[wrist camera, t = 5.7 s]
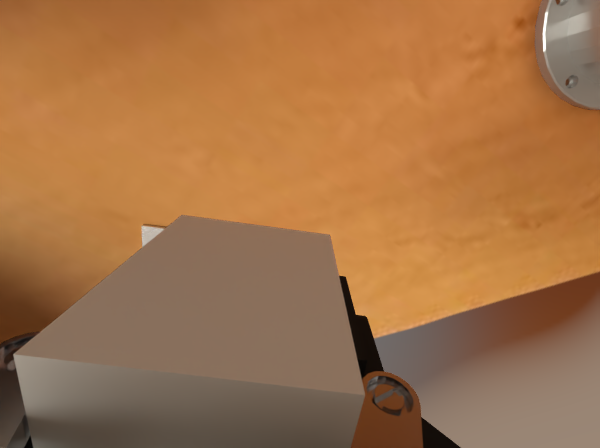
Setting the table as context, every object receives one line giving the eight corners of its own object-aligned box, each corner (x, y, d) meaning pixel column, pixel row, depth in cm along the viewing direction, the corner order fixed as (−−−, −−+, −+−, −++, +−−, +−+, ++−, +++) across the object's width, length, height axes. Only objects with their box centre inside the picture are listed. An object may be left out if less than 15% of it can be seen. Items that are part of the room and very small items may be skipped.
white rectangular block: (329, 234, 11) (365, 395, 5) (308, 351, 13) (312, 583, 6) (181, 214, 11) (12, 354, 4) (180, 336, 12) (57, 559, 6)
